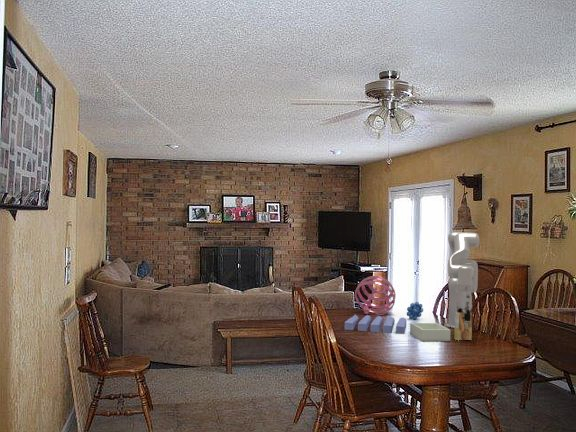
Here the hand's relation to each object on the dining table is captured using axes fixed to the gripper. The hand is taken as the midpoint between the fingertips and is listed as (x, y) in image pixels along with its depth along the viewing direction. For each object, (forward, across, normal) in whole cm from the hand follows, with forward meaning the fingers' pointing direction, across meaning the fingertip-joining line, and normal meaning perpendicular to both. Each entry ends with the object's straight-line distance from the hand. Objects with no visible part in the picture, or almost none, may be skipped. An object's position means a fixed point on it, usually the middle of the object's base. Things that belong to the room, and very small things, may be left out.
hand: (463, 319), depth 314 cm
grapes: (+11, +66, +6) cm, 67 cm away
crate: (+12, +7, +17) cm, 22 cm away
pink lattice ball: (+11, +86, +27) cm, 90 cm away
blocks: (+12, +38, +39) cm, 56 cm away
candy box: (+12, +1, 0) cm, 12 cm away
